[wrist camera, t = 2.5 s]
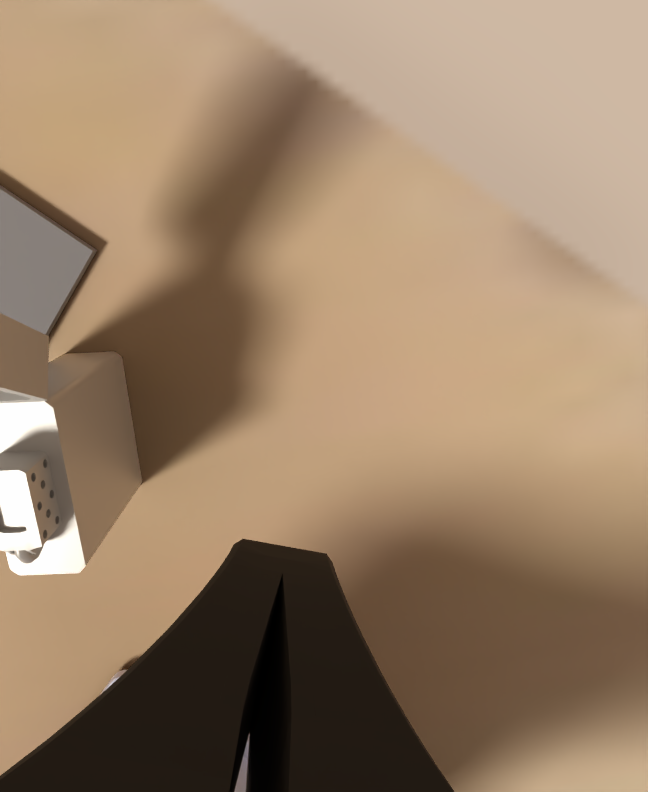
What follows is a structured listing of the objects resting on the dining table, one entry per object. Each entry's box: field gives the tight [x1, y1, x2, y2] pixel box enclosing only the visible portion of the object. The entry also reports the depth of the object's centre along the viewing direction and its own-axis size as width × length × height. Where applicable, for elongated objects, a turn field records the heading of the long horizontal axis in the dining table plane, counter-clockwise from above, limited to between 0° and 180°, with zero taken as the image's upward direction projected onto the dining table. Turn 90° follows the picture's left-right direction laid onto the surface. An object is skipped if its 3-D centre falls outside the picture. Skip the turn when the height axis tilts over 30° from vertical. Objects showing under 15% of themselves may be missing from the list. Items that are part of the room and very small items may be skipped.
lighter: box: [0, 313, 142, 575], centre depth 13 cm, size 7×2×8 cm, turn 3°
